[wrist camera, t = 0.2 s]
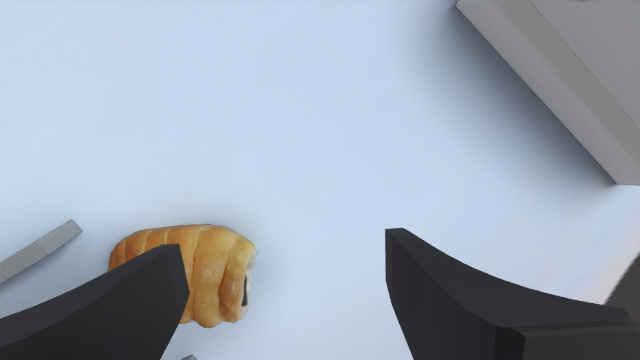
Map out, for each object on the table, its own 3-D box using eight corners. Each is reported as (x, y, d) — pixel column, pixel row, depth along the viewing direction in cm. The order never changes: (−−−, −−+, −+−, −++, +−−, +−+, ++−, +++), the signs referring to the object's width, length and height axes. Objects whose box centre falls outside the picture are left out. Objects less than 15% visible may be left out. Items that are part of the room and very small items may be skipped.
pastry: (122, 294, 24) (88, 333, 21) (119, 207, 22) (80, 233, 19) (253, 307, 25) (243, 348, 21) (261, 224, 23) (251, 253, 19)
